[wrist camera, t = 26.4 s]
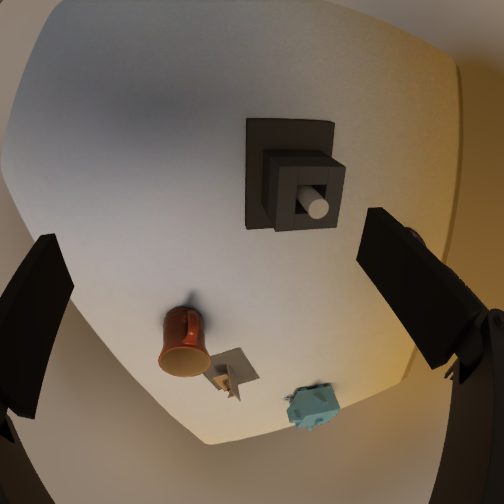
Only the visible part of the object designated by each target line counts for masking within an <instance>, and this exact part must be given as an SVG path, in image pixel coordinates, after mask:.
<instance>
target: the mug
mask: <svg viewBox="0 0 504 504" xmlns="http://www.w3.org/2000/svg"><path fill="white" fill-rule="evenodd" d="M158 363H159V366H160V367H161V368H162V370H164V371H165V372H167V373H169V374H171V375H174V376H179V377H192V376H197V375H200V374H202V373H204V372H205V371H207V370H208V369H209V368H210V366H211V357H210V355H209V354H208V352H207V349H206V347H205V333H204V324H203V321H202V318H201V316H200V314H199V313H198V312H196V311H195V310H193V309H190V308H176V309H174V310H172V311H170V312H169V313H168V314H167V315H166V317H165V320H164V324H163V349H162V351H161V354H160V356H159V359H158Z"/></svg>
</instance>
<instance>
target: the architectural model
mask: <svg viewBox="0 0 504 504" xmlns="http://www.w3.org/2000/svg"><path fill="white" fill-rule="evenodd" d="M203 374H204V375H205V377H206V378H207V379H208V380H209V381H210V382H211V383H212V384H213V385H214V386H215V387H216V388H217V389H218V390H221V389H223V390H224V391H228V390H230V392H229V391H228V392H229V393H230V394H229V396H228V398H229V397H233V396H235V397H236V398H237V399H238V400H239V401H241V400H240V395H239V390H238V385H239V384H242V383H245V382H249V381H252V380H255V379H258V378H259V376H258V375H257V373H256V372H255V370H254V369H253V367H252V366H251V364H250V362H249V361H248V359H247V358H246V356H245V355H244V353H243V351H242V350H241V348H240V347H239V348H236V349H233V350H230V351H227V352H224V353H220V354H217V355H214V356H211V366H210V368H209V369H208V370H207V371H205V372H204V373H203Z"/></svg>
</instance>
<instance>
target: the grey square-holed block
mask: <svg viewBox="0 0 504 504" xmlns="http://www.w3.org/2000/svg"><path fill="white" fill-rule="evenodd" d="M345 170H346V167H345V166H344V165H342V164H341V163H339V162H338V161H336V160H335V159H333V158H332V157H270V177H269V200H268V218H269V220H270V222H271V224H272V226H273V228H274V230H275V232H280V231H293V230H307V229H320V228H321V229H323V228H336V227H337V222H338V216H339V210H340V204H341V198H342V191H343V184H344V178H345ZM297 185H313V188H314V189H315V190H316V191H317V192H318V193H319V194H320V195H321V196H322V197H323V198H324V199H325V200H326V201H327V203H328V205H329V209H328V212H327V214H326V215H325V216H324V217H322V218H319V219H314V218H312V217H311V216H310V215H309V214H308V212H307V211H306V210H305V209H304V207H303V206H302V205H301V203H300V202H299V201H298V200H296V193H297Z"/></svg>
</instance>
